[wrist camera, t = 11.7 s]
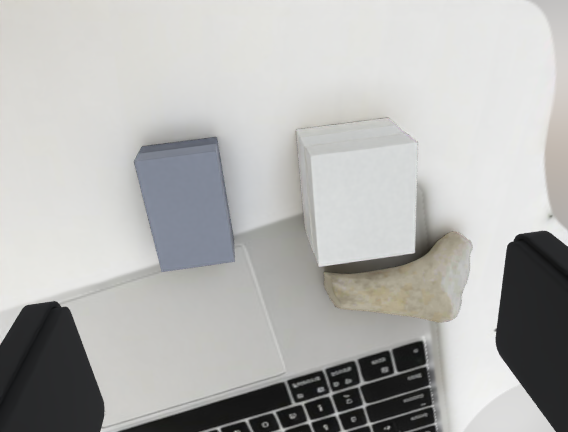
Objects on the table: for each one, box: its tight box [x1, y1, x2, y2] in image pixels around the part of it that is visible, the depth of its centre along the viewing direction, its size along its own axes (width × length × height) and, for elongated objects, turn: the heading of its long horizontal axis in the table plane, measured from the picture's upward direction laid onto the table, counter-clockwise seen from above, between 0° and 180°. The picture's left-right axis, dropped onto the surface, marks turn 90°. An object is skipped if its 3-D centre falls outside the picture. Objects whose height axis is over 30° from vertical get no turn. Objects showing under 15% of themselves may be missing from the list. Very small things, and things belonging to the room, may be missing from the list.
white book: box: [306, 134, 418, 267], centre depth 30 cm, size 8×6×2 cm
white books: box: [296, 118, 406, 252], centre depth 33 cm, size 8×6×4 cm
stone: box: [324, 231, 472, 323], centre depth 37 cm, size 11×6×5 cm, turn 106°
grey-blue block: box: [134, 137, 235, 272], centre depth 32 cm, size 8×5×3 cm, turn 5°
